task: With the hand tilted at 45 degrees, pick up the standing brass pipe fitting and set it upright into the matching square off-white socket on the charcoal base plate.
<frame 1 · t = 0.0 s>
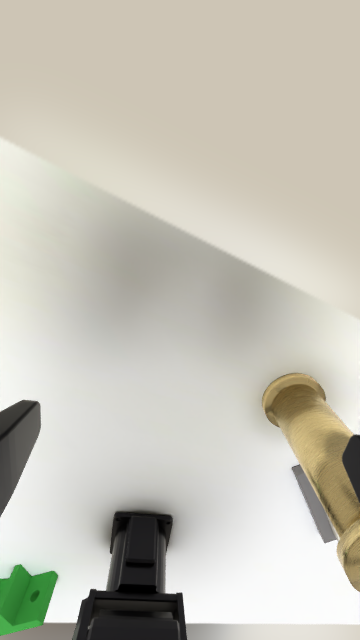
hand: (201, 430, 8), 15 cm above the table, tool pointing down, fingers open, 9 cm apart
green notched block: (12, 575, 33), on the table
brass fitting: (291, 399, 25), on the table
socket plate: (358, 485, 30), on the table
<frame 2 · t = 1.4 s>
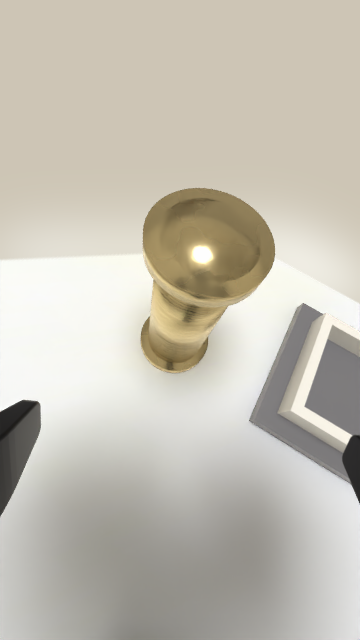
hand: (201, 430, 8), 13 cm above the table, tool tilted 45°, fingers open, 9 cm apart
brass fitting: (173, 340, 23), on the table
socket plate: (337, 394, 23), on the table
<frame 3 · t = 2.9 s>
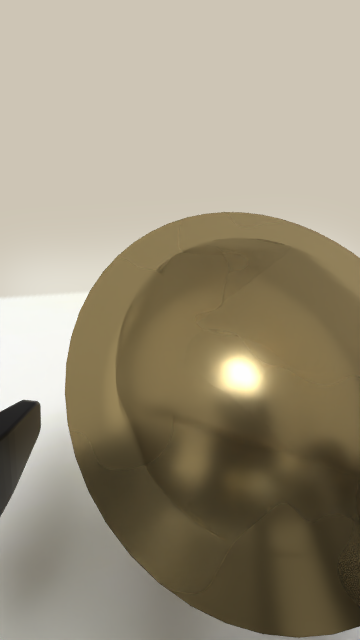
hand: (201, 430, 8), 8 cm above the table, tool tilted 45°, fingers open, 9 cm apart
brass fitting: (171, 423, 15), on the table
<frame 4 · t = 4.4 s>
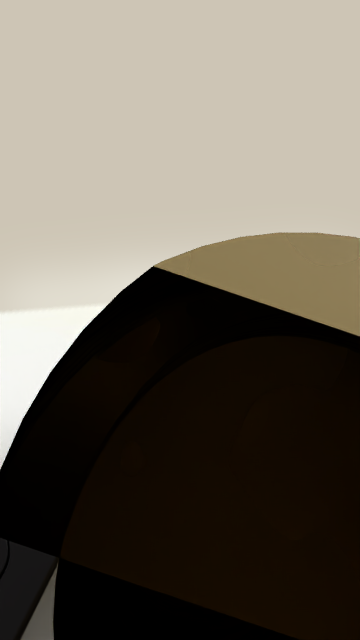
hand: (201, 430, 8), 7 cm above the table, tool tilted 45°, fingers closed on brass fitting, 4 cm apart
brass fitting: (171, 467, 13), on the table, touching gripper
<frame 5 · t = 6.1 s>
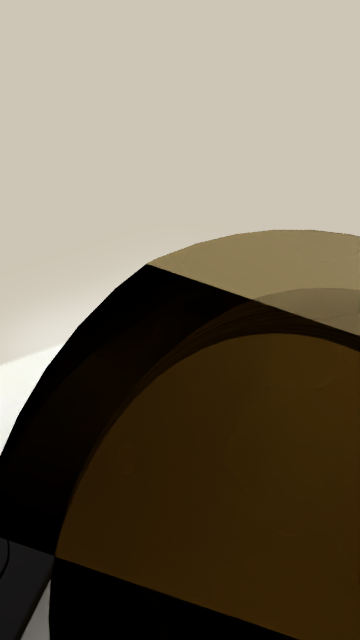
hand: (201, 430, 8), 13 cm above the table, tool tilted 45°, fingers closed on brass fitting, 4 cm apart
brass fitting: (170, 466, 13), point 7 cm above the table, touching gripper
when the fingers open (8 cm above the table, at t = 8.2 s): brass fitting stays where it is, resting on socket plate.
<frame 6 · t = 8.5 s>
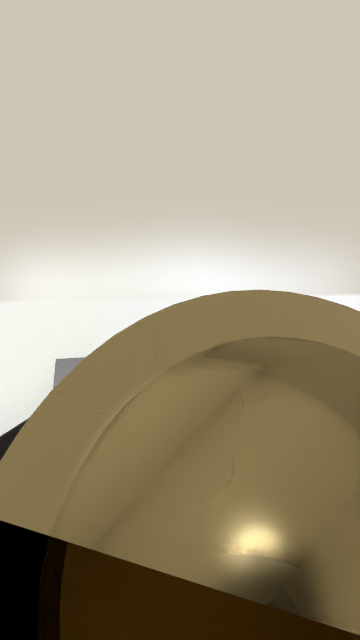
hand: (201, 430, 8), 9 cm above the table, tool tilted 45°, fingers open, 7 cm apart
brass fitting: (168, 468, 14), point 1 cm above the table, touching socket plate
socket plate: (167, 463, 15), on the table
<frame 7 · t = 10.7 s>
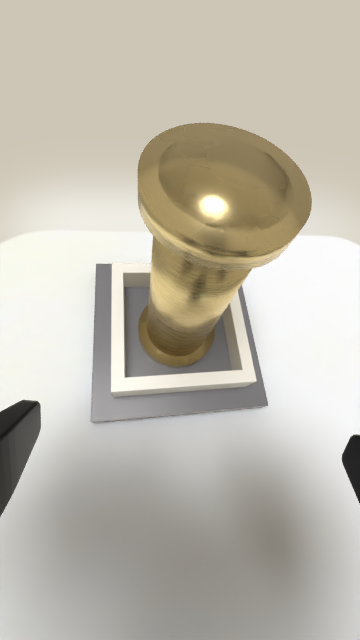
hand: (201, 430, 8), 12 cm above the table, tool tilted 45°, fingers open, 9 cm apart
brass fitting: (175, 331, 20), point 1 cm above the table, touching socket plate
socket plate: (174, 334, 21), on the table
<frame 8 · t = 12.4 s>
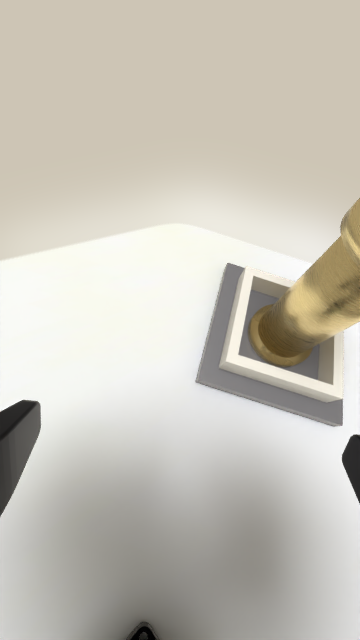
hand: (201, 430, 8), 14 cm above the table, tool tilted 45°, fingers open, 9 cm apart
brass fitting: (278, 336, 24), point 1 cm above the table, touching socket plate
socket plate: (273, 339, 25), on the table
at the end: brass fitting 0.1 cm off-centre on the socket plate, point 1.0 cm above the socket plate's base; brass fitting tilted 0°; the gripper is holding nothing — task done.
